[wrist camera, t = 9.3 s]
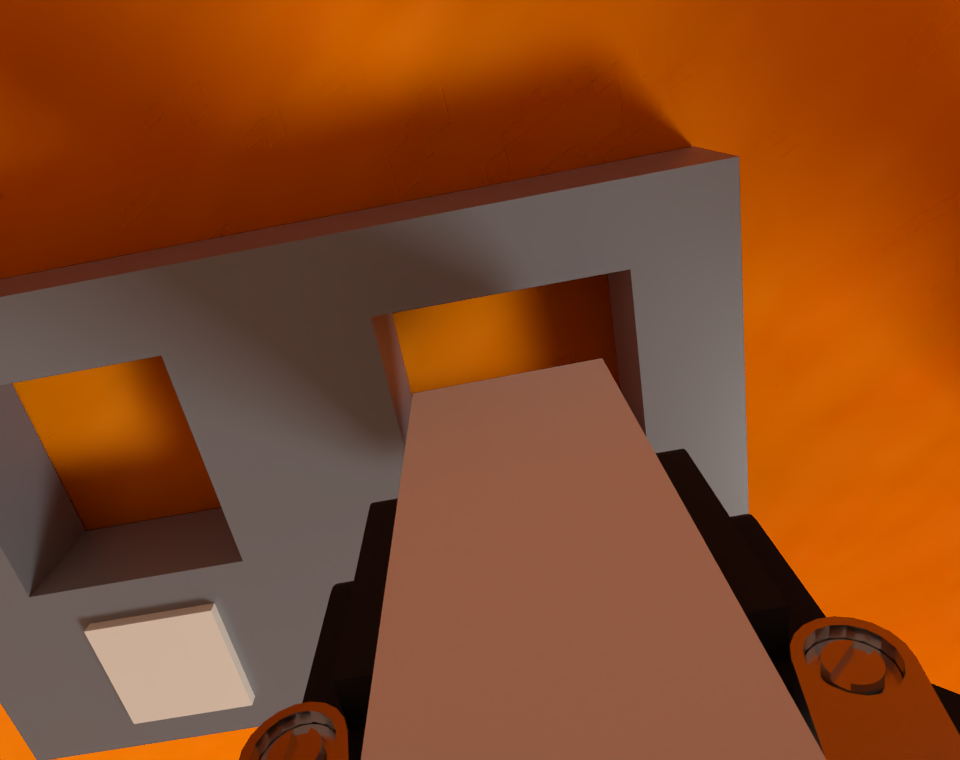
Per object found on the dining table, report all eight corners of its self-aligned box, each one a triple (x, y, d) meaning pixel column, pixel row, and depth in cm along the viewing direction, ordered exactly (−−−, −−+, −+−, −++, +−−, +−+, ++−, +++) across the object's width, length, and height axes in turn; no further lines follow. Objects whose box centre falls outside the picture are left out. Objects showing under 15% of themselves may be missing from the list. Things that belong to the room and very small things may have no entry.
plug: (413, 393, 14) (255, 1499, 3) (602, 358, 14) (1178, 1391, 3) (451, 547, 16) (441, 1646, 5) (622, 517, 15) (1042, 1582, 4)
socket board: (-126, 303, 18) (-244, 345, 15) (693, 146, 17) (744, 157, 14) (87, 682, 23) (32, 770, 20) (716, 580, 22) (756, 656, 19)
